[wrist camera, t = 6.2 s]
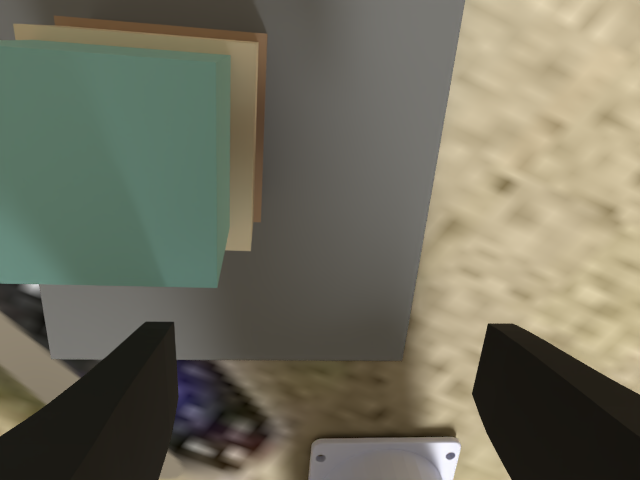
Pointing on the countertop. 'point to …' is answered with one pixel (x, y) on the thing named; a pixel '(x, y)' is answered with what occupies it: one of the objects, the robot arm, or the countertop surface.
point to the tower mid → (240, 102)
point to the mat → (297, 184)
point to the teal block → (113, 165)
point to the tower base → (204, 34)
